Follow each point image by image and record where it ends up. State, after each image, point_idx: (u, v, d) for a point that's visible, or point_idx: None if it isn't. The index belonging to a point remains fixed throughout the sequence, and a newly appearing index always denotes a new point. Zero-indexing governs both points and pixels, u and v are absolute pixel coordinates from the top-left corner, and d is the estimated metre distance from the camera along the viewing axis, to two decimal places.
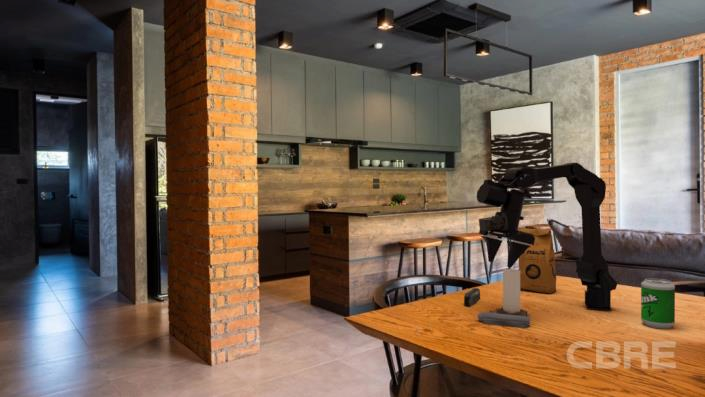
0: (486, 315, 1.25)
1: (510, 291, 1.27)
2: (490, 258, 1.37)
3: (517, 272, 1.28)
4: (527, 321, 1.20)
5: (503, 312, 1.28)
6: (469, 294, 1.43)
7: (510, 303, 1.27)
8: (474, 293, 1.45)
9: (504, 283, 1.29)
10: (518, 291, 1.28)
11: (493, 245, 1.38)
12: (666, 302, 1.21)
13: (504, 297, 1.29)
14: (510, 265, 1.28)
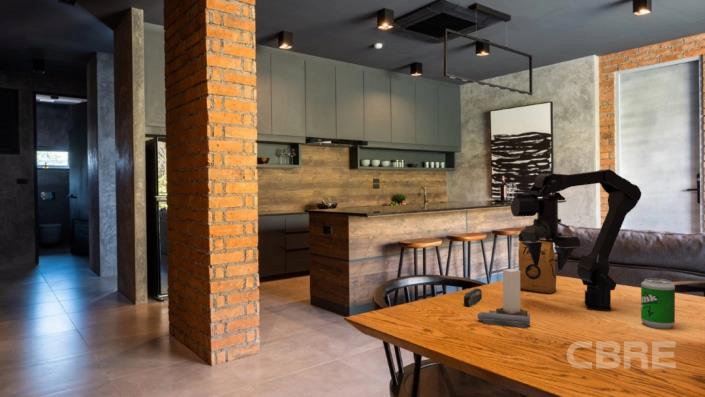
0: (486, 315, 1.25)
1: (510, 291, 1.27)
2: (535, 262, 1.45)
3: (517, 272, 1.28)
4: (527, 321, 1.20)
5: (503, 312, 1.28)
6: (469, 294, 1.42)
7: (510, 303, 1.27)
8: (474, 293, 1.45)
9: (504, 283, 1.29)
10: (518, 291, 1.28)
11: (535, 249, 1.45)
12: (666, 302, 1.21)
13: (504, 297, 1.29)
14: (561, 268, 1.36)
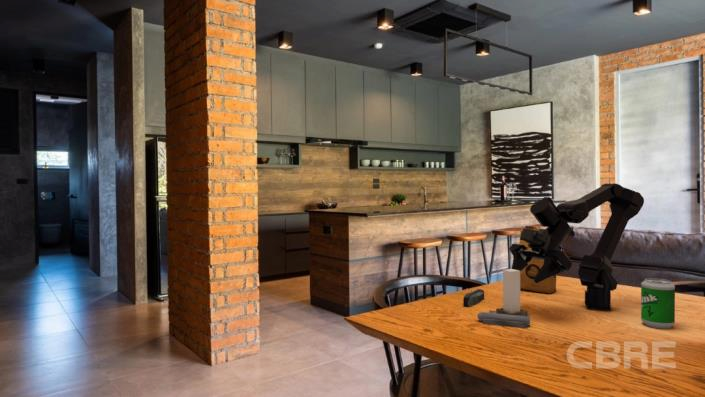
0: (486, 315, 1.25)
1: (510, 291, 1.27)
2: None
3: (517, 272, 1.28)
4: (527, 321, 1.20)
5: (503, 312, 1.28)
6: (469, 295, 1.42)
7: (510, 303, 1.27)
8: (475, 294, 1.44)
9: (504, 283, 1.29)
10: (518, 291, 1.28)
11: (519, 263, 1.36)
12: (666, 302, 1.21)
13: (504, 297, 1.29)
14: (537, 280, 1.26)
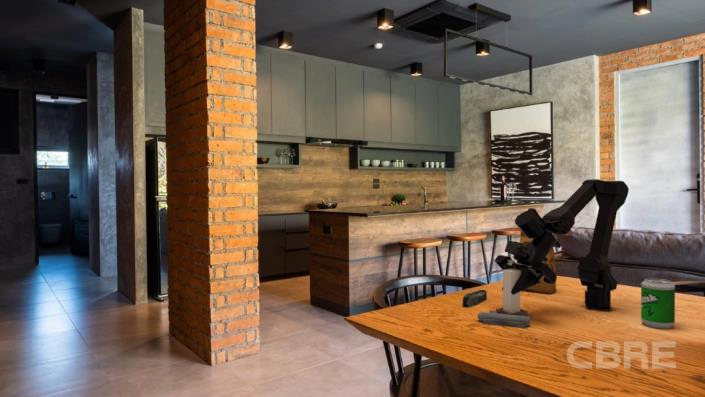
0: (486, 315, 1.25)
1: (510, 291, 1.27)
2: None
3: (517, 272, 1.28)
4: (527, 321, 1.20)
5: (503, 312, 1.28)
6: (469, 295, 1.42)
7: (510, 303, 1.27)
8: (476, 294, 1.43)
9: (504, 283, 1.29)
10: None
11: None
12: (666, 302, 1.21)
13: (504, 297, 1.29)
14: (514, 292, 1.27)
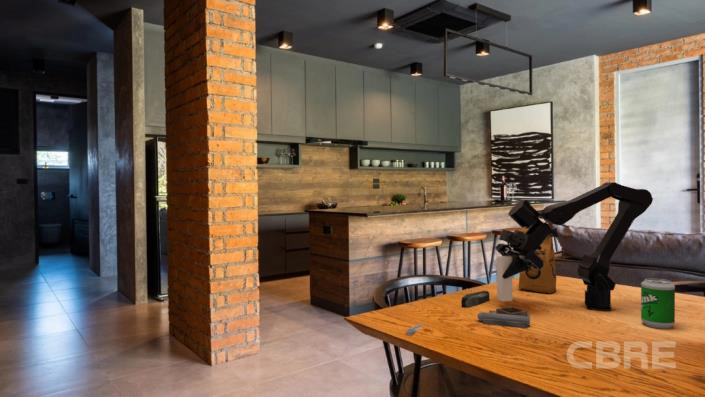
0: (486, 315, 1.25)
1: (501, 276, 1.39)
2: None
3: (509, 258, 1.39)
4: (527, 321, 1.20)
5: (503, 312, 1.28)
6: (468, 295, 1.41)
7: (502, 286, 1.39)
8: (476, 295, 1.43)
9: (497, 268, 1.41)
10: None
11: None
12: (666, 302, 1.21)
13: (497, 281, 1.41)
14: (505, 276, 1.38)
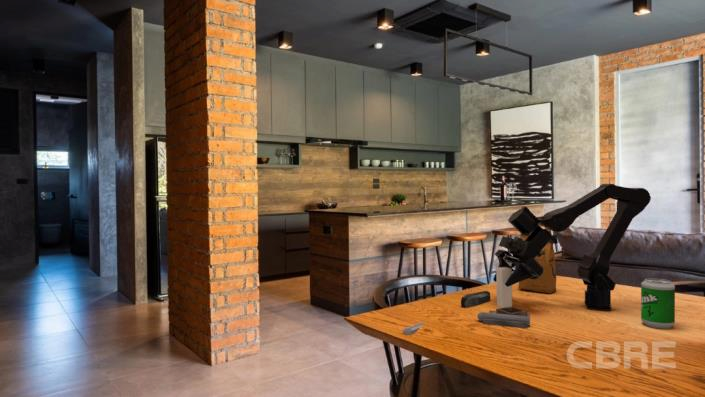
0: (486, 315, 1.25)
1: (501, 287, 1.39)
2: None
3: (508, 270, 1.39)
4: (527, 321, 1.20)
5: (503, 312, 1.28)
6: (468, 296, 1.41)
7: (501, 298, 1.39)
8: (476, 295, 1.43)
9: (497, 280, 1.41)
10: (510, 287, 1.39)
11: None
12: (666, 302, 1.21)
13: (497, 293, 1.41)
14: (507, 284, 1.36)
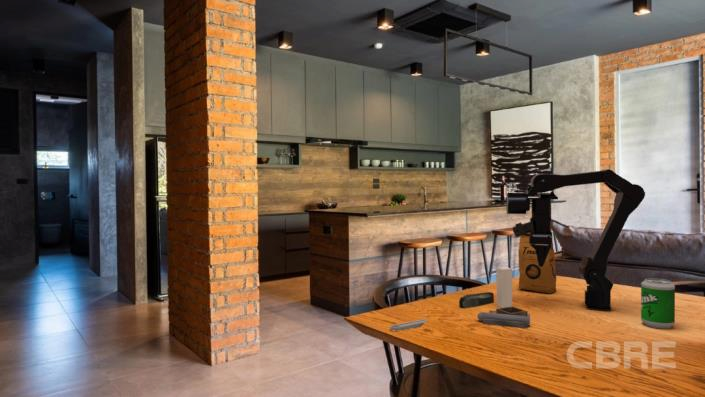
0: (486, 315, 1.25)
1: (501, 287, 1.39)
2: None
3: (509, 270, 1.39)
4: (527, 321, 1.20)
5: (503, 312, 1.28)
6: (466, 296, 1.41)
7: (501, 298, 1.39)
8: (476, 296, 1.41)
9: (497, 280, 1.41)
10: (510, 287, 1.39)
11: None
12: (666, 302, 1.21)
13: (497, 293, 1.41)
14: (541, 264, 1.42)
